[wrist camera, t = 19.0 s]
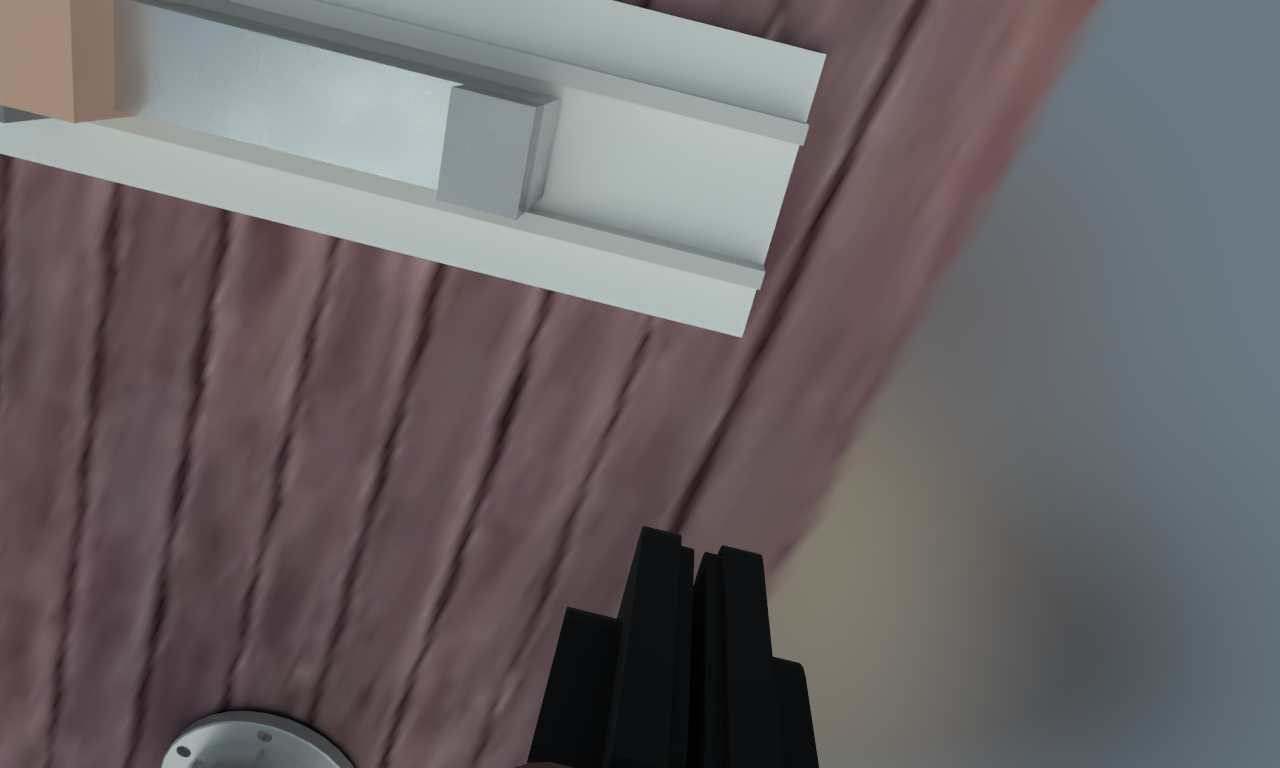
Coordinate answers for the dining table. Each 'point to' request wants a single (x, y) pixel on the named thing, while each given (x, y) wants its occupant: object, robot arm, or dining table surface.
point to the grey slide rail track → (579, 163)
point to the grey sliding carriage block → (335, 104)
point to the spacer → (58, 58)
